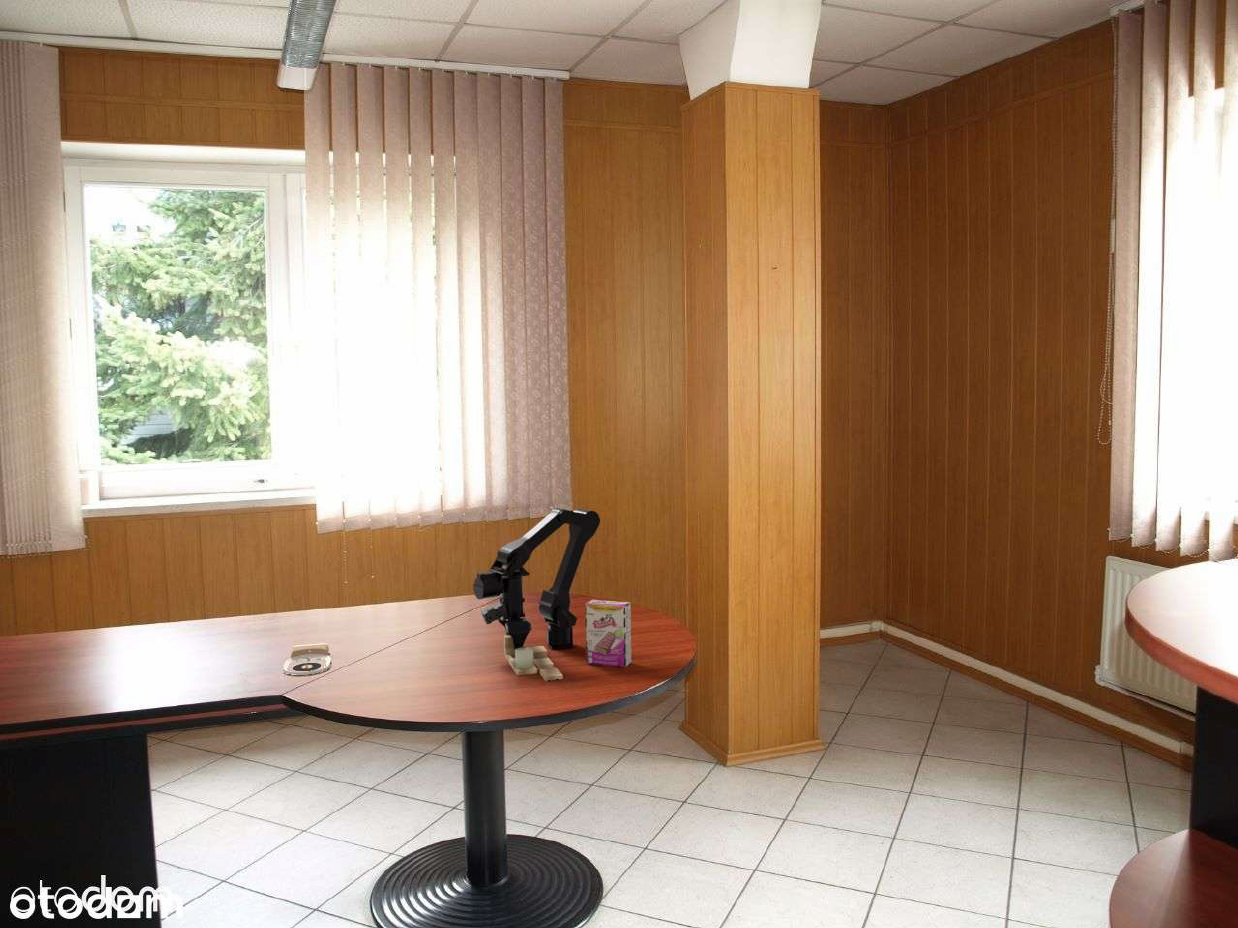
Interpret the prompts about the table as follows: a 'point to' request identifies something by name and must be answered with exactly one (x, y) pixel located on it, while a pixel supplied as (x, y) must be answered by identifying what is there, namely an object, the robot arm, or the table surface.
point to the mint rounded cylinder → (524, 658)
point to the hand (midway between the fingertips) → (514, 650)
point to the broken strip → (545, 664)
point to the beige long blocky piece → (510, 653)
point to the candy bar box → (608, 633)
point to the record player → (308, 658)
